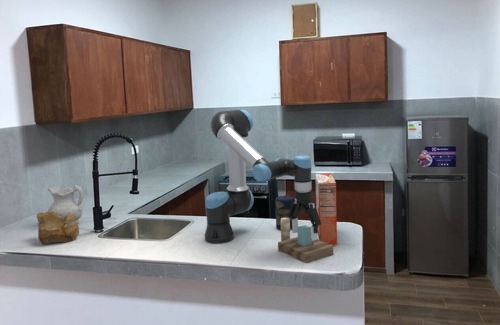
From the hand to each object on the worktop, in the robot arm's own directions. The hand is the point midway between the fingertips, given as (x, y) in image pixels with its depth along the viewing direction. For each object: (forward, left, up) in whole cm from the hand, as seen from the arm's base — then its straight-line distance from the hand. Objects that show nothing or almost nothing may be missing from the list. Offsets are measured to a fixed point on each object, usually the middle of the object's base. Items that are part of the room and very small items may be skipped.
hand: (304, 236), depth 206 cm
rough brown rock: (-98, -91, -8) cm, 134 cm away
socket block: (0, 0, -8) cm, 8 cm away
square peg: (0, 0, -8) cm, 8 cm away
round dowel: (-16, +1, -8) cm, 18 cm away
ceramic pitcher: (-125, -78, -8) cm, 148 cm away
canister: (-35, +15, -8) cm, 39 cm away
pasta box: (-10, +22, -8) cm, 25 cm away
